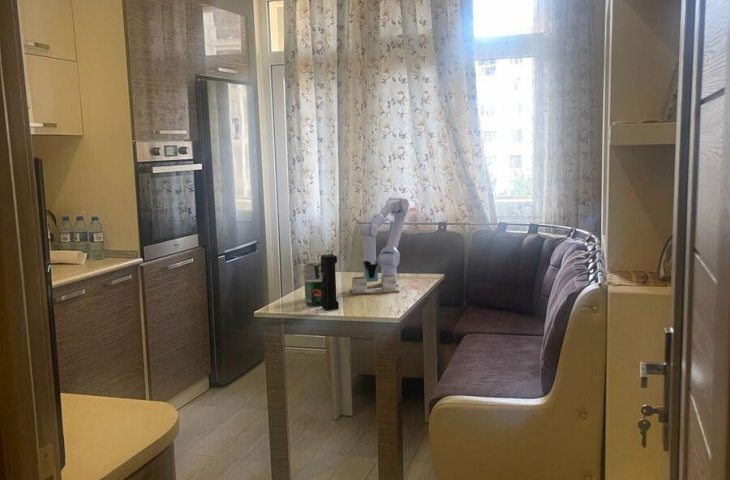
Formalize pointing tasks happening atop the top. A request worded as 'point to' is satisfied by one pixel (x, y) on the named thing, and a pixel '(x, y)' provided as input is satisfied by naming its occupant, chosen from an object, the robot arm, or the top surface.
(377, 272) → the module
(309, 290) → the canned tomato
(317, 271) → the coffee box
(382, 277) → the board
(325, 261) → the portable radio
